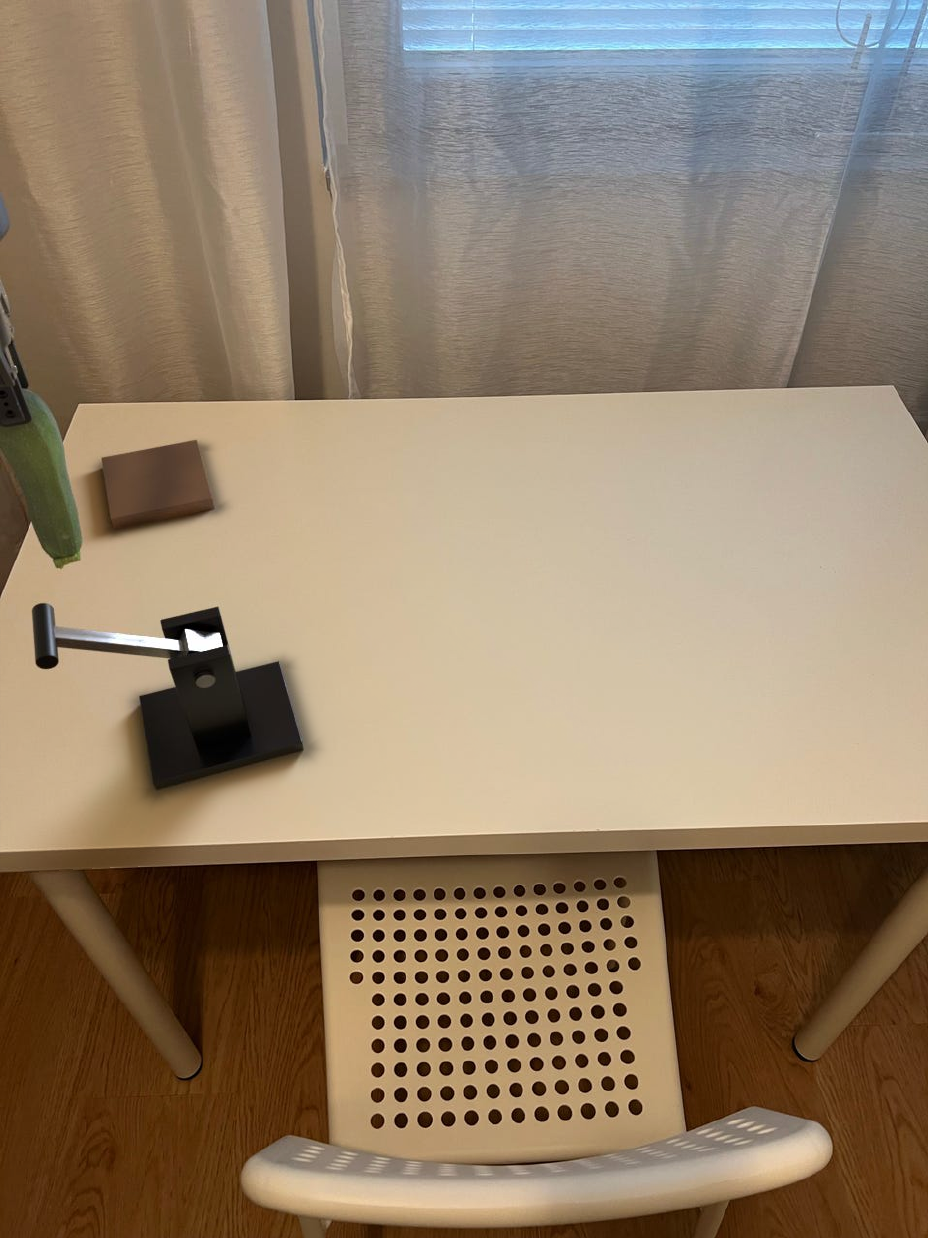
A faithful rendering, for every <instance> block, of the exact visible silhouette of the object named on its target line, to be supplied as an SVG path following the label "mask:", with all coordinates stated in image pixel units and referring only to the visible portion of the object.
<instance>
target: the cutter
mask: <svg viewBox="0 0 928 1238" xmlns="http://www.w3.org/2000/svg"><path fill="white" fill-rule="evenodd" d="M160 626H161V631H162V634H163V636H164V639H173V640H179V639H180V637H181V635H182V633H183V631H184V629H189V630H198V631H206V632H214V633H220V637H221V641H222V645H223V646H221V647H217V648H213V649H208V650H204V651H200V652H196V653H192V654H188V655H184V656H180V657H175V658H171V659H169V658H167V664H168V669H169V673H170V674H171V678H172V681H173V684H174V686H173V687H169V688H166V689H165V688H164V689H161V690H157V691H153V692H149V693H145V694H141V695H139V696H138V699H139V705H140V711H141V719H142V725H143V731H144V737H145V743H146V751H147V756H148V763H149V768H150V775H151V776H150V777H151V781H152V785H153V787H154V791H160V790H163V789H168V788H171V787H173V786H177V785H178V786H179V785H182V784H185V783H190V782H193V781H195V780H196V781H197V780H200V779H203V778H206V777H210V776H214V775H218V774H221V773H226V772H228V771H232V770H236V769H241V768H243V767H246V766H251V765H254V764H259V763H261V762H265V761H268V760H273V759H276V758H279V757H283V756H288V755H291V754H294V753H298V752H302V751H305V748H304V741H303V739H302V736H301V732H300V729H299V724H298V721H297V717H296V714H295V711H294V706H293V703H292V700H291V697H290V694H289V693H290V692H289V690H288V686H287V682H286V679H285V675H284V672H283V668H282V665H281V662H280V661H279V660H277V661H274V662H269V663H266V664H262V665H257V666H254V667H249V668H245V669H241V670H238V671H236V667H235V663H234V660H233V655H232V651H231V648H230V644H229V641H228V636H227V633H226V629H225V626H224V622H223V617H222V613H221V610H220V607H219V606H214V607H210V608H207V609H206V608H205V609H200V610H197V611H193V612H189V613H184V614H179V615H175V616H171V617H167V618H163V619H160Z"/></svg>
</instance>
